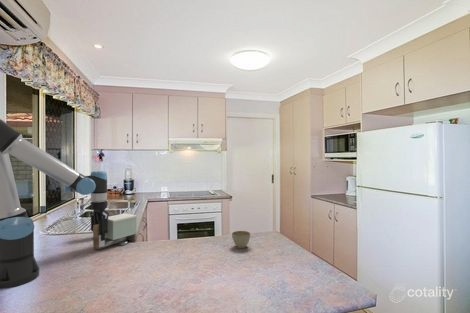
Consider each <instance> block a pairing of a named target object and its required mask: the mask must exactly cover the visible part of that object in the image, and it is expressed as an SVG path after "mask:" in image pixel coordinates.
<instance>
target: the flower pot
mask: <svg viewBox="0 0 470 313" xmlns="http://www.w3.org/2000/svg"><path fill="white" fill-rule="evenodd" d="M231 237H232V241H233V243H234V245H235V246H236V247H237V248H238V249H244V248H246V247H247V246H248V245H249V242H250V238H251V232H250V231H246V230H235V231H233V232H232V233H231Z"/></svg>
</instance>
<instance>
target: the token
mask: <svg viewBox="0 0 470 313" xmlns="http://www.w3.org/2000/svg"><path fill="white" fill-rule="evenodd" d="M128 244H129V240H127V239H126V240H123V241H119V242H118V243H117V246H119V247H123V246H127V245H128Z"/></svg>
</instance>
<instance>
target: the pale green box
mask: <svg viewBox="0 0 470 313" xmlns="http://www.w3.org/2000/svg"><path fill="white" fill-rule="evenodd" d="M137 217H138V216H137V215H136V214H131V213H128V212H127V213H125V212H124V213H120V214H115V215H109V217H108V233H105V242H106V241H110V240H116V239H119V238H123V237H126V241H129V242H130V241H131V242H133V243H136V242H137Z"/></svg>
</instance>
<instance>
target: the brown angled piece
mask: <svg viewBox="0 0 470 313" xmlns="http://www.w3.org/2000/svg"><path fill="white" fill-rule="evenodd" d="M92 232H93V234H92V235H93V237H92V238H93V239H92V242H93V243H92V244H93V245H92V246H93V247H92V248H93V249H94V250H97V251H98V250H101V249H104V248H106V247H109V246H111V245H115V244H118V242H119V241H123V240H126V241H127V239H126V237H123V238H119V239H116V240H110V241H106V242H105V246H103V247H100V248H99V235H98V234H100V231H99V224H97V225H93V231H92Z"/></svg>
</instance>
